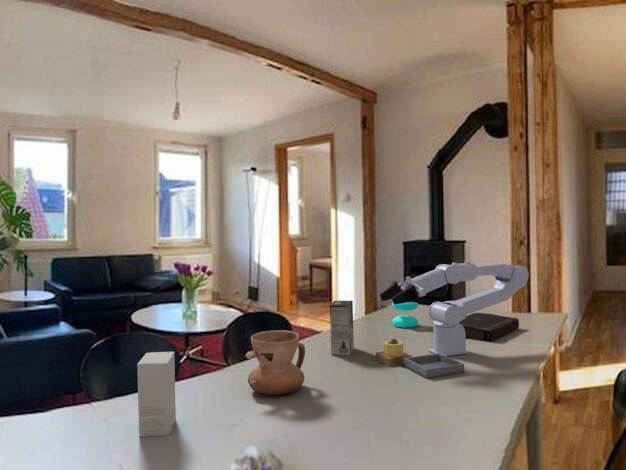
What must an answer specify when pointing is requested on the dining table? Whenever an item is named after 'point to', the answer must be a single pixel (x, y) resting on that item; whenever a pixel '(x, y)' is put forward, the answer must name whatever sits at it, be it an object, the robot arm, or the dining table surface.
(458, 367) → the tray
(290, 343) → the ceramic jug
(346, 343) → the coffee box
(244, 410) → the dining table surface
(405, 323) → the donuts
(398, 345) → the ring
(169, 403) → the skincare box
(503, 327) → the diary
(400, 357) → the block
